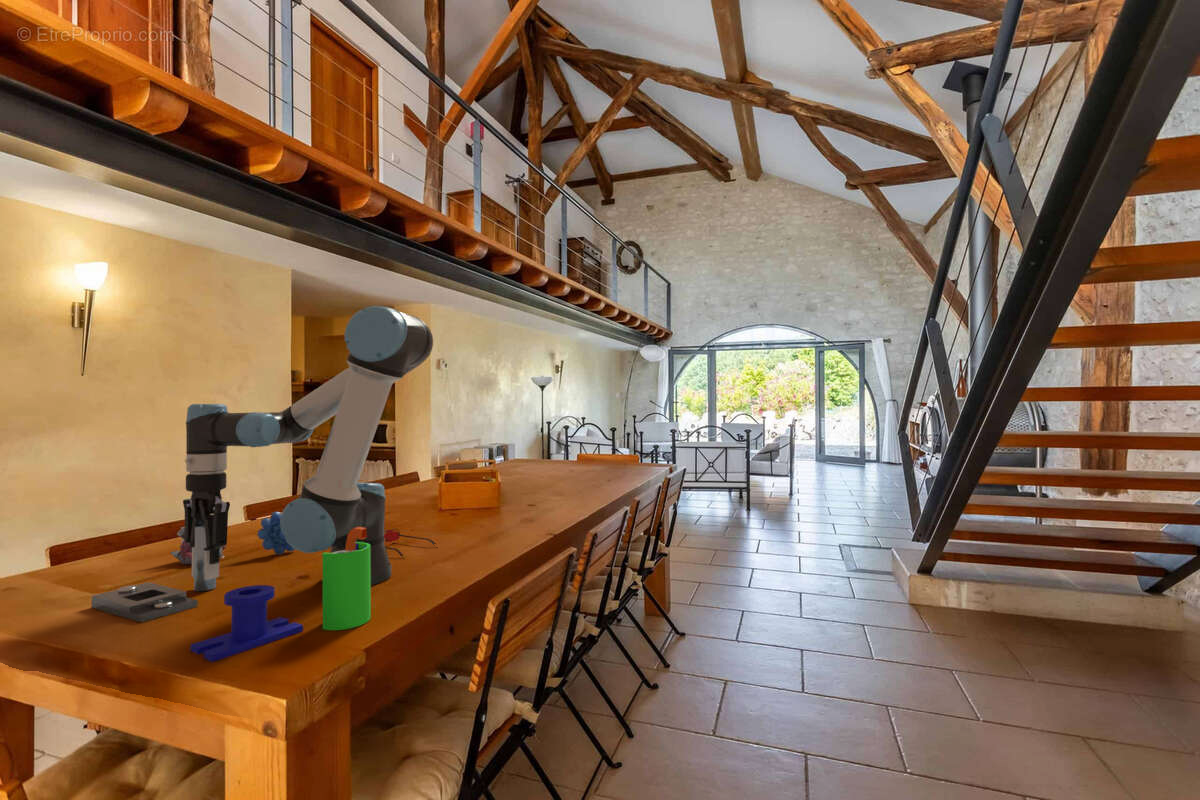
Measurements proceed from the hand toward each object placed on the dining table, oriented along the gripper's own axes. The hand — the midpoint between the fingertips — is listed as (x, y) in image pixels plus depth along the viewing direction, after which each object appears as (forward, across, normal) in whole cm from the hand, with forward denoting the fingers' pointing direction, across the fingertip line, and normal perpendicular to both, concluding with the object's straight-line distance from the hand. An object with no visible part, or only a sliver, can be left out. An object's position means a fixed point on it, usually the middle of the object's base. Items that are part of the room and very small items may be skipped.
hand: (205, 576), depth 126 cm
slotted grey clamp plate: (+3, +1, -12) cm, 12 cm away
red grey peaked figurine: (+3, -26, +13) cm, 29 cm away
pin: (+3, 0, 0) cm, 3 cm away
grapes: (+3, -12, +27) cm, 30 cm away
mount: (+4, +36, -13) cm, 38 cm away
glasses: (+4, +13, +46) cm, 48 cm away
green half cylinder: (+3, +44, +1) cm, 44 cm away
